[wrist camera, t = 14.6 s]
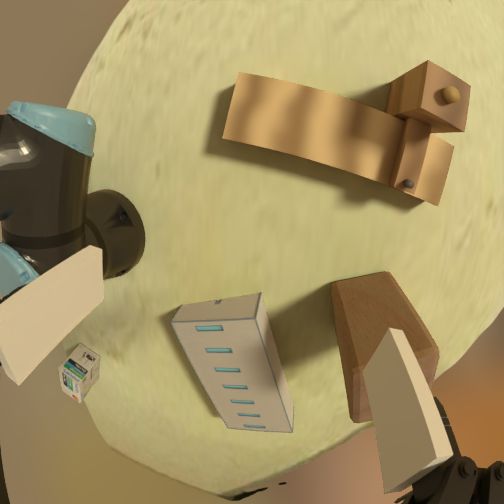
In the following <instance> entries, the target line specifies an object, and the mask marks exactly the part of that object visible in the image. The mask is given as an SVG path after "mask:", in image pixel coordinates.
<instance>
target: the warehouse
mask: <svg viewBox="0 0 504 504" xmlns="http://www.w3.org/2000/svg"><path fill="white" fill-rule="evenodd" d="M261 294H262V293H258V294H252V295H246V296H240V297H233V298H227V299H222V300H220V301H217V300H214V301H208V302H201V303H194V304H187V305H181V306H180V307H179V309H178V310H177V312H176V313H175V315H174V316H173V318H172V319H171V321H170V323H171V325H172V327H173V329H174V331H175V334H176V336H177V338H178V340H179V342H180V344H181V346H182V348H183V350H184V352H185V354H186V356H187V358H188V360H189V361H190V363H191V365H192V367H193V369H194V371H195V373H196V375H197V376H198V378H199V380H200V382H201V384H202V386H203V387H204V389H205V391H206V393H207V394H208V396H209V398H210V400H211V401H212V403H213V405H214V406H215V408H216V410H217V411H218V413H219V415H220V416H221V418H222V420H223V421H224V423H225V425H226V426H227V428H231V429H240V430H251V431H265V432H288V433H293V420H294V406H293V403H292V399H291V396H290V392H289V389H288V385H287V382H286V378H285V375H284V371H283V368H282V365H281V361H280V358H279V354H278V351H277V347H276V344H275V340H274V337H273V333H272V330H271V326H270V323H269V319H268V316H267V312H266V309H265V305H264V302H263V298H262V295H261Z"/></svg>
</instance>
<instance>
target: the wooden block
mask: <svg viewBox="0 0 504 504" xmlns="http://www.w3.org/2000/svg"><path fill="white" fill-rule="evenodd" d="M331 297H332V305H333V313H334V321H335V330H336V335H337V341H338V346H339V351H340V357H341V362H342V368H343V374H344V380H345V387H346V393H347V400H348V407H349V414H350V418H351V419H352V421H353V422H354V423H362V422H367V421H372V420H373V418H372V413H371V408H370V403H369V398H368V394H367V389H366V385H365V381H364V376H363V372H362V371H363V370H364V368H365V367H366V365H367V364H368V362H369V360H370V359H371V357H372V356H373V354H374V352H375V351H376V349H377V348H378V346H379V344H380V343H381V341H382V339H383V337H384V336H385V334H386V332H387V330H388V329H389V328H393V329H398V330H403V332H404V334H405V336H406V338H407V340H408V343H409V345H410V347H411V349H412V351H413V353H414V355H415V357H416V359H417V362H418V364H419V366H420V368H421V370H422V373H423V375H424V377H425V380H426V382H427V384H428V387H429V389H430V391H431V387H432V384H433V380H434V377H435V373H436V369H437V365H438V360H439V349H438V346H437V345H436V343H435V341H434V339H433V338H432V336H431V334H430V333H429V331H428V329H427V328H426V326H425V325H424V323H423V321H422V320H421V318H420V317H419V315H418V313H417V312H416V310H415V309H414V307H413V306H412V304H411V303H410V301H409V300H408V298H407V297H406V295H405V294H404V292H403V291H402V289H401V288H400V286H399V285H398V283H397V282H396V280H395V279H394V278H393V276H392V275H391V273H390V272H380V273H375V274H371V275H366V276H361V277H356V278H351V279H346V280H341V281H336V282H334V283H332V285H331Z"/></svg>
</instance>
